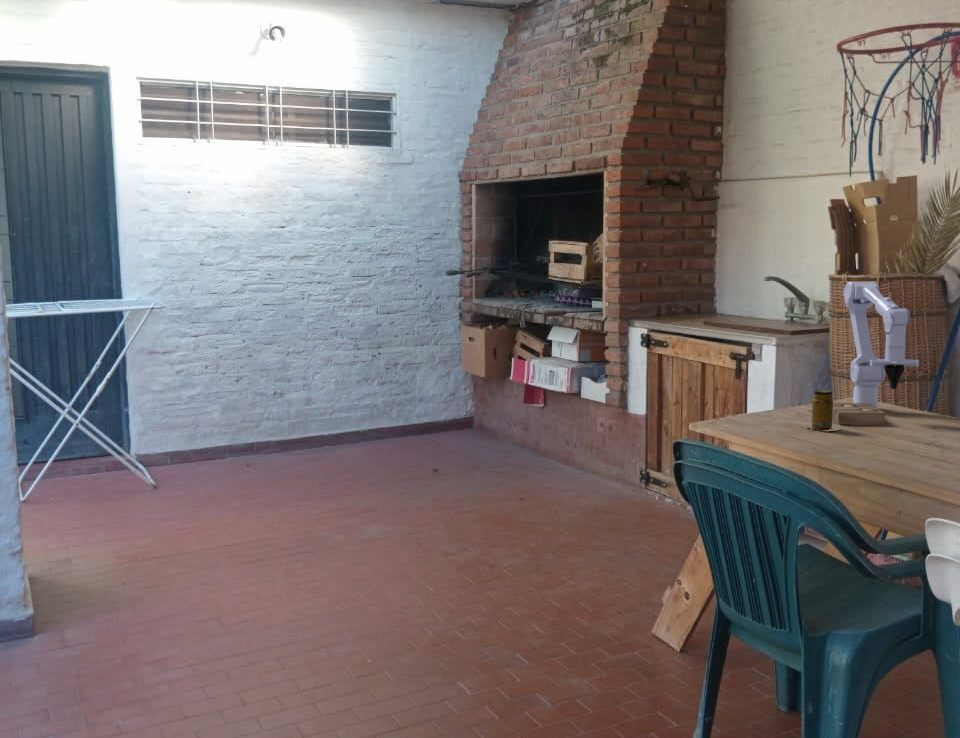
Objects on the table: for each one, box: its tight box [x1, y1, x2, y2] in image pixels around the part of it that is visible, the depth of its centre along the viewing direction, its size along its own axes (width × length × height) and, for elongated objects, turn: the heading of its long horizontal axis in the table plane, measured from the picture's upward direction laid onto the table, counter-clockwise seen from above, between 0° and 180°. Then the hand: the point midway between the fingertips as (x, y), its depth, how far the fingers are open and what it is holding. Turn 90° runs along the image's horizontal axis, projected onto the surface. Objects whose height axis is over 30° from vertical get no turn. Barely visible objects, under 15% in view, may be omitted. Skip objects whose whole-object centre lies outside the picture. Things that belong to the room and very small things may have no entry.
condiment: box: [811, 389, 834, 433], centre depth 309 cm, size 7×8×12 cm
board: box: [832, 402, 886, 426], centre depth 323 cm, size 16×14×4 cm
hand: (893, 388), depth 321 cm, fingers closed
